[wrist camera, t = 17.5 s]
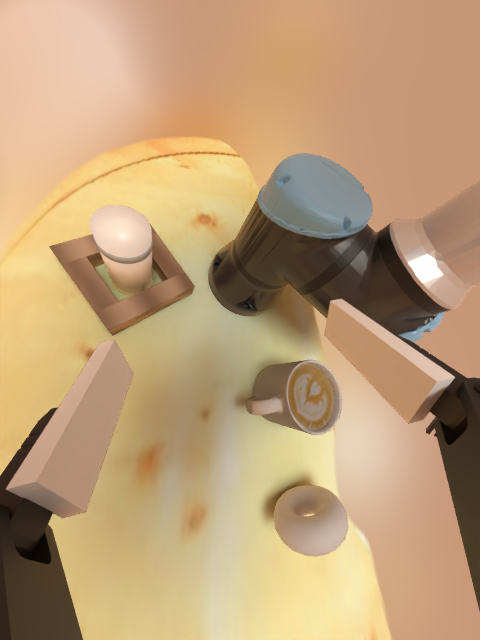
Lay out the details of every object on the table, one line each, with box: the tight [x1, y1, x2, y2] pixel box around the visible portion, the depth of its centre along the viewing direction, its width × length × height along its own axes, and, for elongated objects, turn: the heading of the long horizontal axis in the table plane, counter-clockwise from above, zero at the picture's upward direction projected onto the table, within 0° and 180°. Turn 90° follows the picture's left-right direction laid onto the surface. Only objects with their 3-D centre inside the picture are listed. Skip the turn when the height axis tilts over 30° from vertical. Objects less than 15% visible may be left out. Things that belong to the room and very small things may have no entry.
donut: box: [274, 485, 348, 556], centre depth 28 cm, size 10×4×10 cm, turn 103°
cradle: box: [49, 225, 195, 335], centre depth 31 cm, size 14×14×3 cm
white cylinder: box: [90, 205, 153, 295], centre depth 27 cm, size 6×6×12 cm
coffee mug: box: [246, 360, 342, 435], centre depth 32 cm, size 13×10×10 cm
